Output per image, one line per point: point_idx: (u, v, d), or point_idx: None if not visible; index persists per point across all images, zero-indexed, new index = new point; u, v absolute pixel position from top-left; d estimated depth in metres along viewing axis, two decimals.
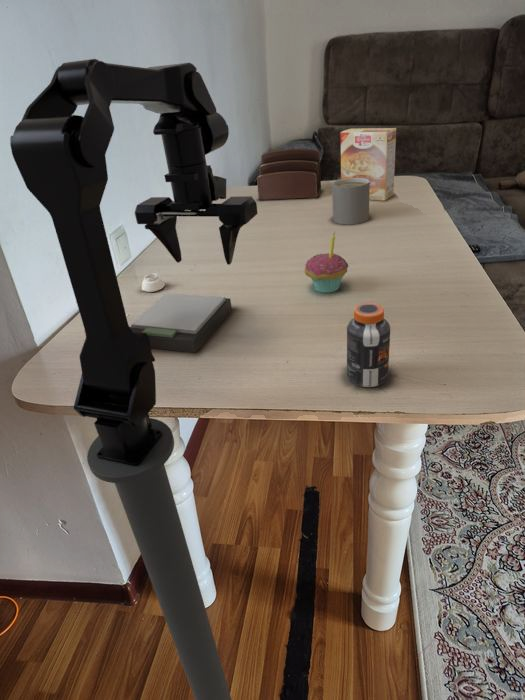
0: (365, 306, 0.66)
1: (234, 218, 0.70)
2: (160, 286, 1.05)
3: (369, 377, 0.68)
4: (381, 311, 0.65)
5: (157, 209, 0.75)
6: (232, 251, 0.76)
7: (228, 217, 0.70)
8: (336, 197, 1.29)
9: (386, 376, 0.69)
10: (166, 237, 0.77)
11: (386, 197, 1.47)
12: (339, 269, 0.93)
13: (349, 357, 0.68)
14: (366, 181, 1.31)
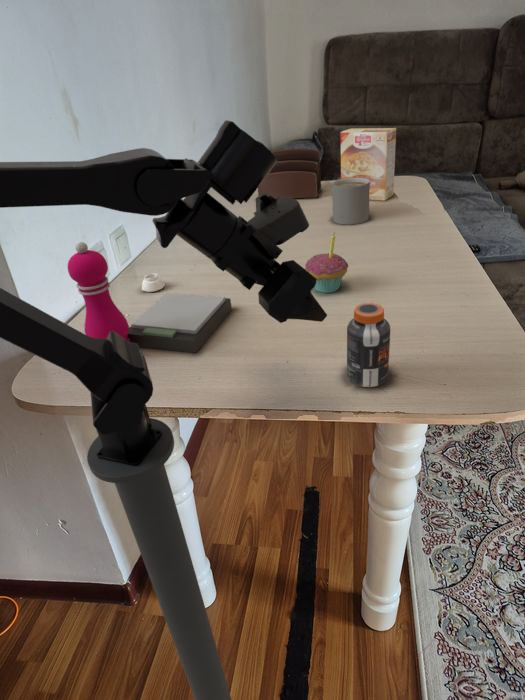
0: (365, 306, 0.66)
1: None
2: (160, 286, 1.05)
3: (369, 377, 0.68)
4: (381, 311, 0.65)
5: None
6: (316, 312, 0.58)
7: None
8: (336, 197, 1.29)
9: (386, 376, 0.69)
10: (261, 282, 0.65)
11: (386, 197, 1.47)
12: (339, 269, 0.93)
13: (349, 357, 0.68)
14: (366, 181, 1.31)
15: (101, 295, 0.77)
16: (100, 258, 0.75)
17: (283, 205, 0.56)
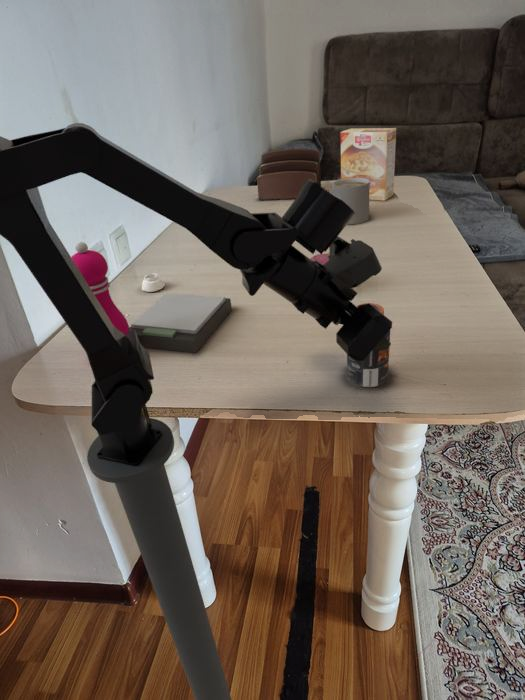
0: None
1: None
2: (160, 286, 1.05)
3: (369, 377, 0.68)
4: (381, 311, 0.65)
5: None
6: (382, 342, 0.64)
7: None
8: None
9: (386, 376, 0.69)
10: None
11: (386, 197, 1.47)
12: None
13: (349, 357, 0.68)
14: (366, 181, 1.31)
15: (101, 295, 0.77)
16: (100, 258, 0.75)
17: (357, 250, 0.60)
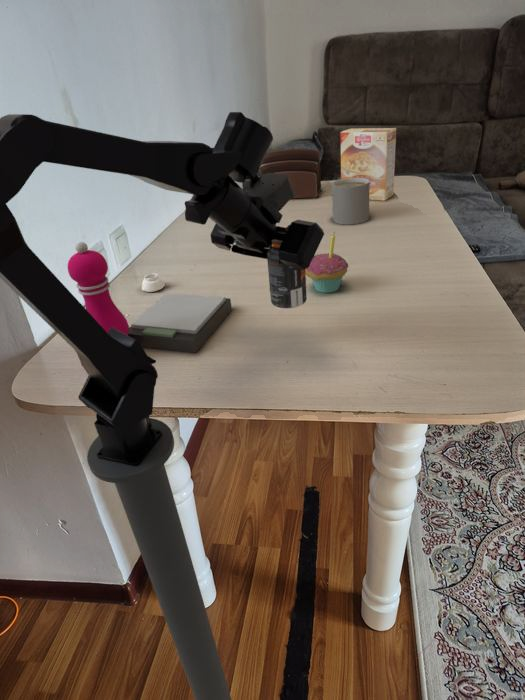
0: None
1: (295, 265, 0.66)
2: (160, 286, 1.05)
3: (296, 297, 0.76)
4: None
5: (228, 238, 0.73)
6: None
7: (289, 263, 0.66)
8: (336, 197, 1.29)
9: (306, 295, 0.79)
10: (254, 254, 0.75)
11: (386, 197, 1.47)
12: (339, 269, 0.93)
13: (275, 283, 0.76)
14: (366, 181, 1.31)
15: (101, 295, 0.77)
16: (100, 258, 0.75)
17: (272, 179, 0.68)
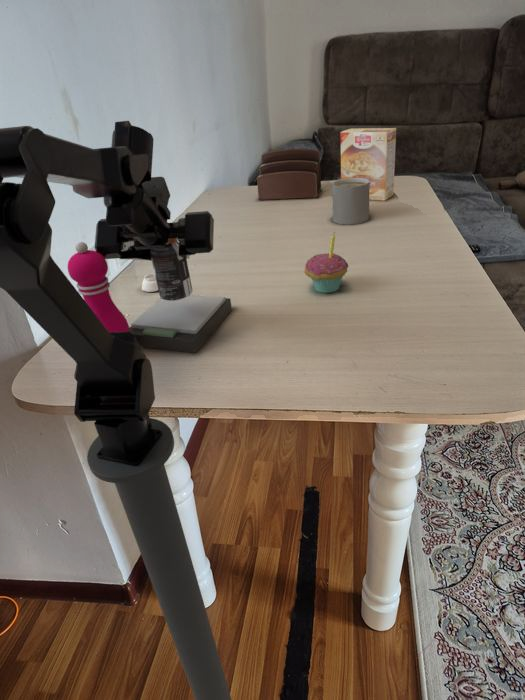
0: None
1: (202, 250, 0.75)
2: None
3: (187, 286, 0.84)
4: None
5: (118, 245, 0.76)
6: None
7: (196, 250, 0.75)
8: (336, 197, 1.29)
9: None
10: (141, 257, 0.80)
11: (386, 197, 1.47)
12: (339, 269, 0.93)
13: (168, 278, 0.82)
14: (366, 181, 1.31)
15: (101, 295, 0.77)
16: (100, 258, 0.75)
17: (150, 182, 0.75)
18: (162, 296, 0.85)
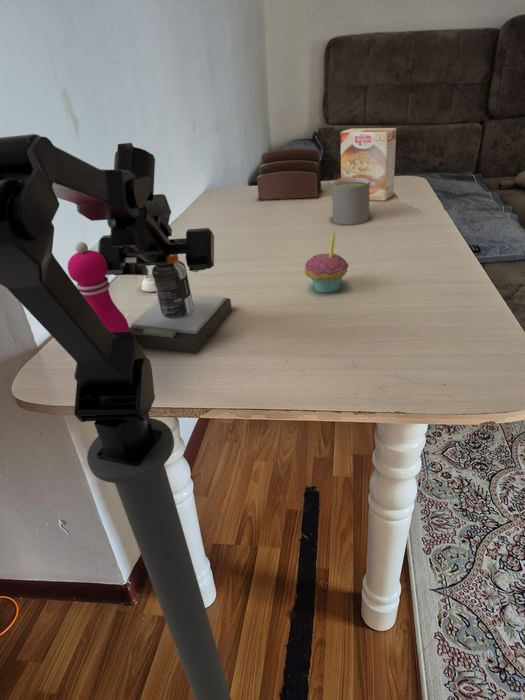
0: None
1: (203, 266, 0.76)
2: None
3: (189, 304, 0.86)
4: None
5: (120, 262, 0.77)
6: None
7: (197, 266, 0.76)
8: (336, 197, 1.29)
9: None
10: (135, 272, 0.81)
11: (386, 197, 1.47)
12: (339, 269, 0.93)
13: (170, 296, 0.84)
14: (366, 181, 1.31)
15: (101, 295, 0.77)
16: (100, 258, 0.75)
17: (151, 200, 0.76)
18: (164, 313, 0.86)
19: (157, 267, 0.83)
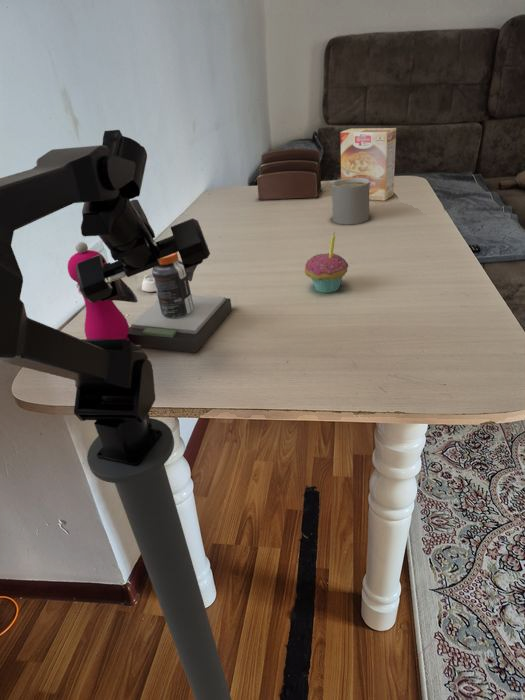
0: None
1: (200, 256, 0.68)
2: None
3: (189, 304, 0.86)
4: None
5: (106, 280, 0.67)
6: None
7: (193, 258, 0.67)
8: (336, 197, 1.29)
9: None
10: (124, 295, 0.71)
11: (386, 197, 1.47)
12: (339, 269, 0.93)
13: (170, 296, 0.84)
14: (366, 181, 1.31)
15: None
16: None
17: None
18: (164, 313, 0.86)
19: (157, 267, 0.83)
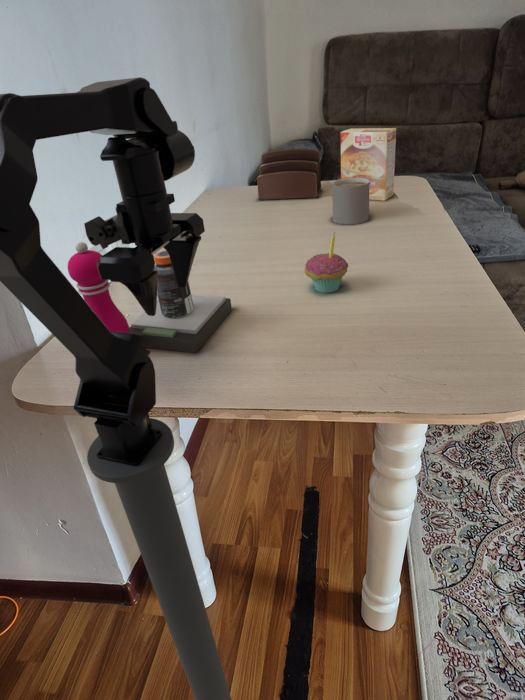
0: (160, 253, 0.83)
1: (201, 226, 0.71)
2: None
3: (189, 304, 0.86)
4: None
5: None
6: None
7: (198, 227, 0.70)
8: (336, 197, 1.29)
9: None
10: None
11: (386, 197, 1.47)
12: (339, 269, 0.93)
13: (170, 296, 0.84)
14: (366, 181, 1.31)
15: (101, 295, 0.77)
16: None
17: None
18: (164, 313, 0.86)
19: (157, 267, 0.83)
